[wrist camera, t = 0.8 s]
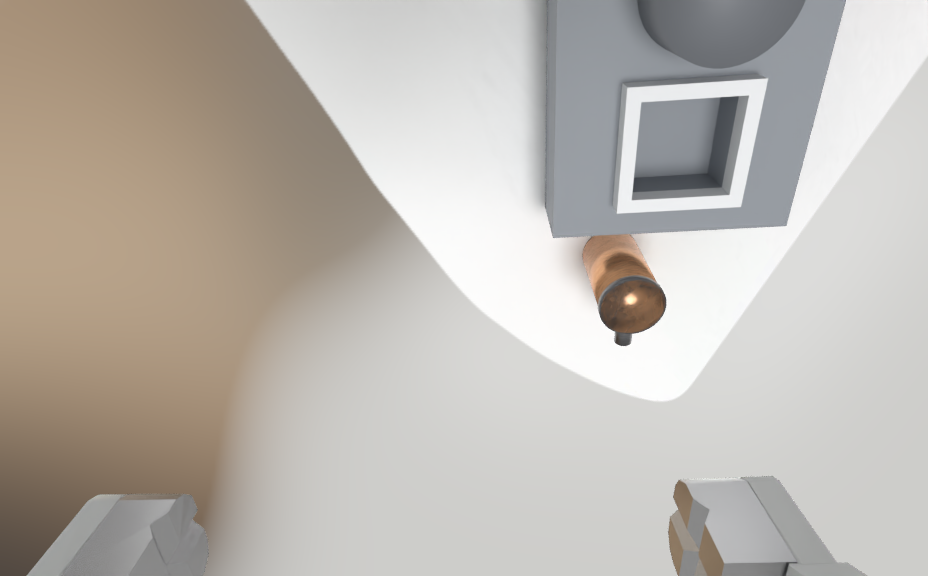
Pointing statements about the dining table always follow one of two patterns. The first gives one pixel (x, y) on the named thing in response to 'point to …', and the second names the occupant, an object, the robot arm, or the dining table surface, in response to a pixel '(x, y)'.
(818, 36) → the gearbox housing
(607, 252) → the spout can
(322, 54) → the dining table surface
